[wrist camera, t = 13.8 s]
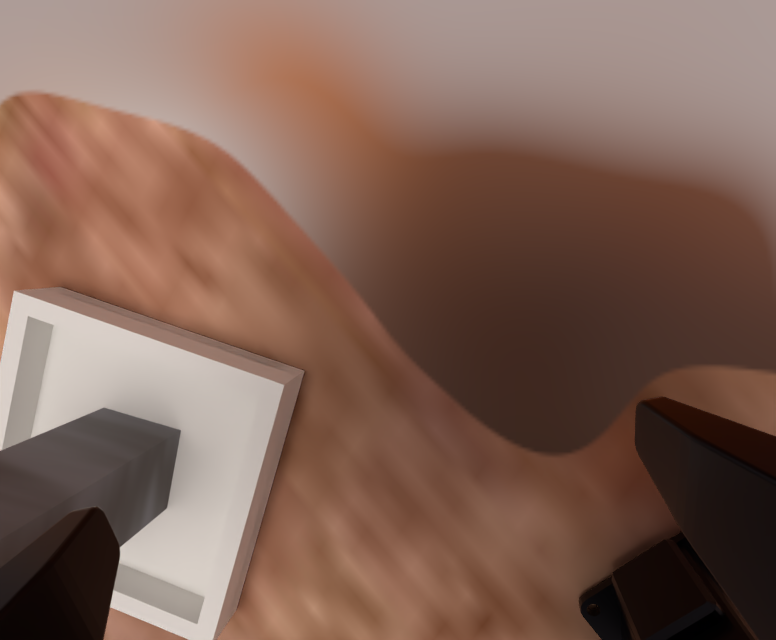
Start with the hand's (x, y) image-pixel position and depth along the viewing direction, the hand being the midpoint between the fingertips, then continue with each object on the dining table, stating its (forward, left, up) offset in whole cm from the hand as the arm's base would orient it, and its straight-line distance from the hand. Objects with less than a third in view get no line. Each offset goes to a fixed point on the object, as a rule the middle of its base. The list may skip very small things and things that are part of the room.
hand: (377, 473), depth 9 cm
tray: (+4, +13, -13) cm, 19 cm away
